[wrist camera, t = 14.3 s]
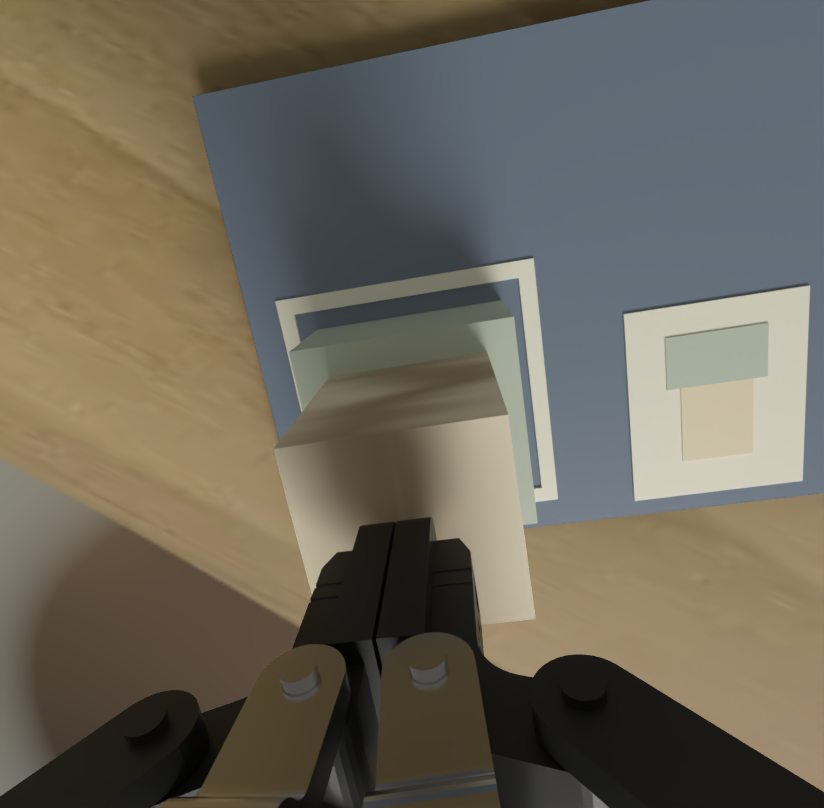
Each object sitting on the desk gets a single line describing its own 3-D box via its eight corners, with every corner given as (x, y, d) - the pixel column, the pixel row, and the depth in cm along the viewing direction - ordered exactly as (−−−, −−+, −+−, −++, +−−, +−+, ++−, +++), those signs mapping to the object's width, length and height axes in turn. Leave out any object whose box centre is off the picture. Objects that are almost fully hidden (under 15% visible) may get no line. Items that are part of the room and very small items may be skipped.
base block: (501, 300, 21) (514, 316, 17) (521, 473, 23) (537, 523, 19) (316, 329, 21) (288, 352, 17) (353, 494, 23) (334, 547, 19)
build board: (856, -32, 18) (887, -52, 17) (829, 477, 23) (851, 491, 22) (206, 103, 20) (190, 95, 19) (314, 539, 25) (307, 555, 24)
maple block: (487, 351, 17) (508, 414, 11) (507, 498, 19) (535, 619, 13) (328, 377, 18) (273, 449, 12) (360, 517, 19) (324, 641, 13)
